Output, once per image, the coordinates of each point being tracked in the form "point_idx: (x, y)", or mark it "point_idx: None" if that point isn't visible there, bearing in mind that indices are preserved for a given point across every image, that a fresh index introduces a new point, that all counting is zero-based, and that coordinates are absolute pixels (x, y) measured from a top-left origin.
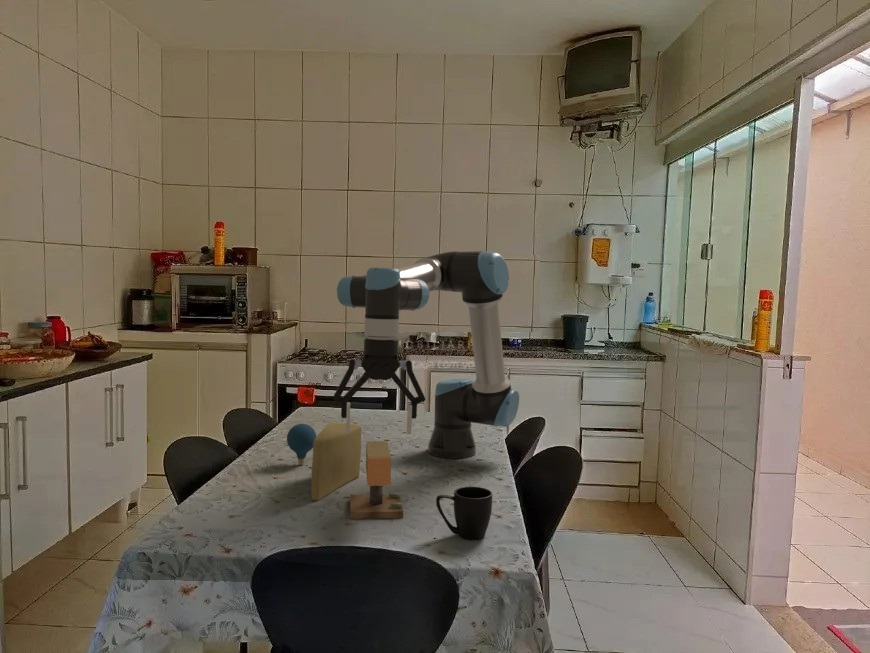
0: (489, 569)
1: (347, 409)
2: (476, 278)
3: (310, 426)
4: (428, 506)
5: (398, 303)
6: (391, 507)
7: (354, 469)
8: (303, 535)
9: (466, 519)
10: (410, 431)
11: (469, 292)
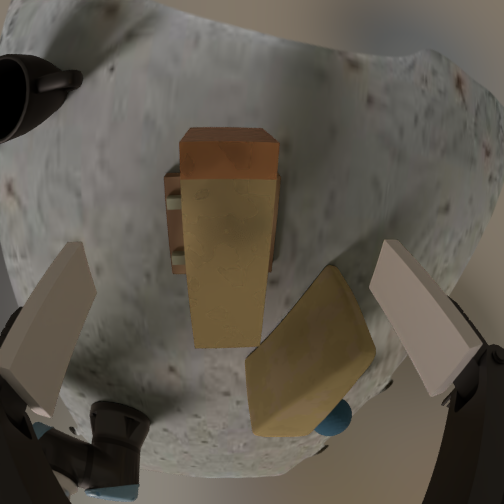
0: None
1: (464, 321)
2: None
3: (322, 433)
4: (117, 234)
5: None
6: None
7: (256, 362)
8: (369, 104)
9: (39, 57)
10: (65, 250)
11: None
